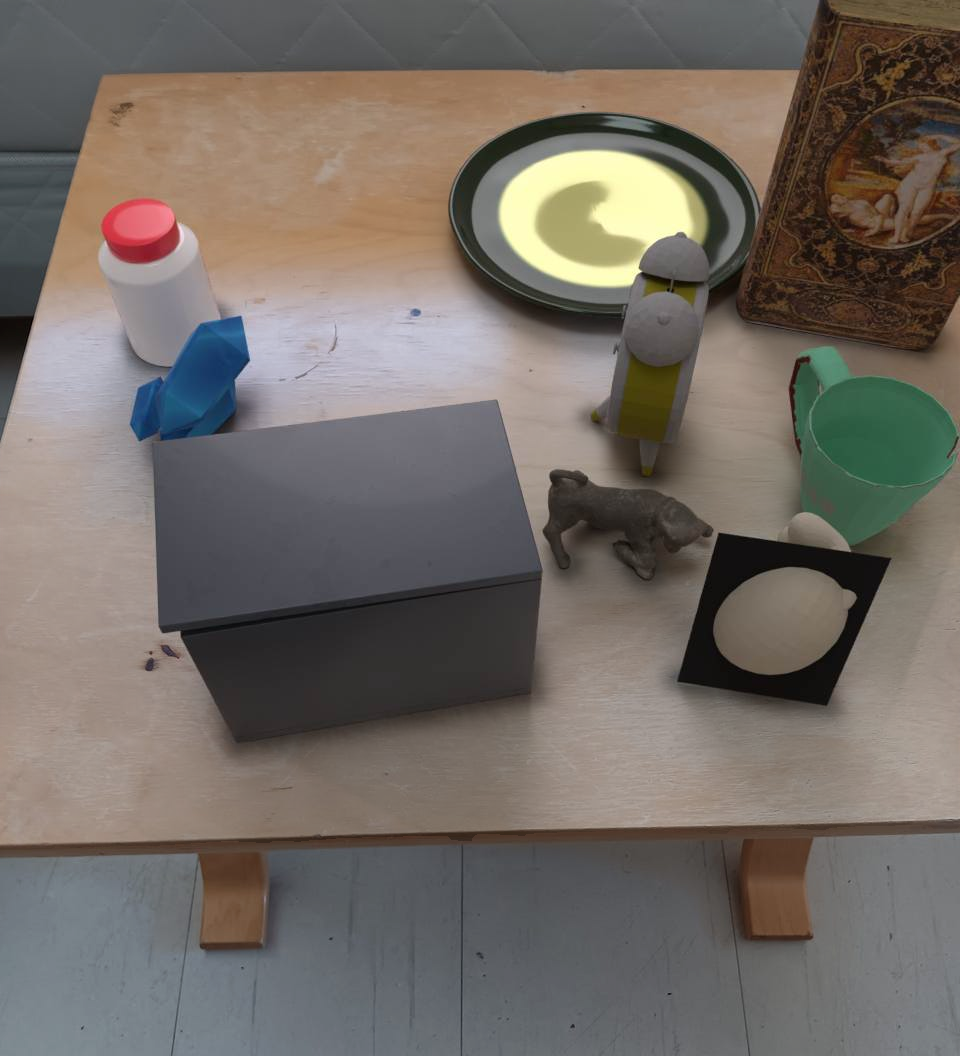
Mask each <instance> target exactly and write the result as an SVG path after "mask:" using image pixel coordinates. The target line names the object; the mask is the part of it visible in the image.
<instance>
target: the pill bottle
mask: <svg viewBox="0 0 960 1056" xmlns="http://www.w3.org/2000/svg"><path fill="white" fill-rule="evenodd" d="M100 226H101V228H100V229H101V232H102V235H103V237H104V239H103V241H102V242H101V244H100V246H99V248H98V252H97V263H98V265H99V268H100V269H99V270H100V271H101V274H102V276H103V279H104V282H105V284H106V286H107V289H108V291H109V294H110V296H111V299H112V301H113V304H114V306H115V308H116V311H117V313H118V316H119V318H120V321H121V324H122V325H123V328H124V331H125V333H126V336H127V338H128V340H129V343H130V345H131V348H132V350H133V351H134V353H135V354H136V355H137V356H138V357H139V359H141V360H143V361H144V362H146V363H148V364H151V365H155V366H158V367H165V368H166V367H169V368H170V367H171V368H172V366H173V365H174V363H175V361H176V359H177V358H178V356H179V354H180V352H181V350H182V349H183V347H184V345H185V343H186V342H187V340H188V338H189V336H190V335H191V333H192V332H193V331H194V330H195V329H196V328H197V327H198V326H199V325H200V324H201V323H204V322H209V321H215V320H220V319H222V318H221V317H222V316H221V314H220V310H219V307H218V304H217V300H216V297H215V293H214V290H213V287H212V283H211V280H210V276H209V272H208V269H207V266H206V263H205V260H204V256H203V253H202V249H201V245H200V243H199V239H198V238H197V236H196V234H195V233H194V232H193V230H192V229H191V228H190V227H188V226H187V225H186V224H184V223H182V222H180V221H177V217H176V214H175V212H174V210H173V209H172V208H171V206H169V205H168V204H167V203H166V202H163V201H161V200H159V199H154V198H134V199H131V200H126V201H124V202H121V203H119V204H117V205H115V206H113V207H112V208H111V209H109V210H108V212H106V214H105V215H104V216H103V218H102V220H101V223H100Z"/></svg>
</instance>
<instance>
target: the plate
mask: <svg viewBox="0 0 960 1056" xmlns="http://www.w3.org/2000/svg"><path fill="white" fill-rule="evenodd" d="M761 207H762V206H761V203H760V200H759V197H758V194H757V192H756V190H755V188H754V186H753V184H752V181H751V180H750V178H749V177H748V175H747V174H746V173H745V171H743V169H742V168H741V167H740V166H739V165H738V164H737V163H736V162H735V160H733V158H731V157H730V156H729V155H728V154H727V153H726V152H724V151H723V150H721V149H720V148H718V147H717V146H716V145H715V144H713V143H711V142H710V141H708V140H707V139H705V138H703V137H701V136H699V135H698V134H696V133H694V132H692V131H690V130H687V129H685V128H683V127H680V126H679V125H675V124H672V123H669V122H665V121H663V120H659V119H655V118H651V117H648V116H647V117H646V116H643V115H636V114H631V113H624V112H614V111H613V112H611V111H581V112H569V113H562V114H557V115H552V116H551V115H550V116H547V117H542V118H538V119H533V120H530V121H527V122H525V123H522V124H519V125H515V126H514V127H512V128H510V129H507V130H506V131H503V132H501V133H499V134H498V135H496V136H494V137H492V138H491V139H489V140H488V141H485V143H483V144H482V145H481V146H480V147H478V148H477V149H476V150H475V151H474V152H473V153H472V154H470V156H469V157H468V158H467V159H466V160H465V162H464V163H463V164H462V166H461V167H460V168H459V170H458V172H457V173H456V176H455V177H454V180H453V182H452V185H451V188H450V191H449V196H448V203H447V212H448V213H447V214H448V220H449V224H450V227H451V230H452V233H453V235H454V238H455V239H456V241H457V243H458V245H459V247H460V249H461V251H462V253H463V254H464V255H465V257H466V258H467V260H468V261H469V262H470V263H471V265H473V267H474V268H476V270H477V271H478V272H480V274H482V275H483V276H484V277H485V278H487V279H488V280H489V281H491V282H493V283H494V284H495V285H496V286H497V287H499V288H501V289H503V290H504V291H506V292H507V293H510V294H512V295H514V296H516V297H518V298H521V299H522V300H525V301H527V302H529V303H532V304H535V305H538V306H540V307H545V308H546V309H550V310H555V311H558V312H563V313H568V314H573V315H578V316H579V315H580V316H588V317H597V318H621V317H622V311H623V307H624V305H625V306H626V309H625V310H627V307H628V302H629V298H630V291H631V286H632V284H633V282H634V279H635V277H636V275H637V274H638V273H640V272H643V271H641V270H640V269H639V264H640V261H641V259H642V257H643V255H644V253H645V252H646V251H647V249H648V248H649V247H650V246H651V245H652V244H654V243H655V242H656V241H657V240H659V239H662V238H664V237H667V236H673V235H676V233H677V232H684V233H685V234H686V236H687V237H688V238H690V239H692V240H694V241H695V242H697V243H698V244H699V245H700V246H701V248H702V249H703V250H704V252H705V254H706V256H707V259H708V263H709V277H708V280H706V281H705V282H706V284H707V285H708V286H709V294H708V296H709V295H711V294H712V293H714V292H715V291H718V290H719V289H720V288H722V287H723V286H725V285H726V284H728V283H729V282H730V281H731V280H733V279H734V278H735V277H736V276H737V275H739V273H740V272H742V271H743V270H744V268H745V265H746V261H747V257H748V254H749V250H750V247H751V243H752V240H753V236H754V232H755V229H756V225H757V222H758V218H759V214H760V211H761ZM625 316H626V315H624V318H625Z"/></svg>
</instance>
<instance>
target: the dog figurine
mask: <svg viewBox="0 0 960 1056" xmlns="http://www.w3.org/2000/svg"><path fill="white" fill-rule="evenodd" d="M548 478H549V481H550V483H551V484H550V487H549V489H548V492H547V507H548V508H547V509H548V521H547V523H546V524H545V525H544V526H543V528H542V534H543V537H544V538H545V539H546V541H547V542H548V544H549V547H550V551H551V552H552V554H553V556H554V557H555V558H556V561H557V564H558V567H560V568H561V569H567V568H568V567H570V565H571V560H572V559H571V557H570V555H569V554H568V552H566V551H565V548H564V547H565V546H564V544H563V541H562V534H563V533H564V532H566V531H568V530H570V529H571V528H573V527H575V526H576V525H577V524H579V522H580V521H582V520H584V521H585V522H587V523H588V524H590V525H592V526H594V527H595V528H598V529H601V530H606V531H614V532H622V533H624V536H625V538H626V540H623V539H618V540H617V541H616V542H612V547H613V549H614V550H615V551H616V553H617V554H618V555H619V557H620V558H622V559H623V560H624V561H625V562H626V563H627V564H629V565H630V566H632V567H633V568H634V569H635V573H636V574H637V575H638V576H640V577H641V578H642V579H647V580H649V579H652V577H653V576H654V575H655V573H654V571H653V569H654V568H655V567H656V565H657V564H658V556H657V554H656V553H655V552H656V551H655V546H654V540H656V539H660V538H663V546H664V549H665V550H666V551H667V552H668V553H670V554H677V553H679V552H680V551H681V549H682V548H685V547H687V546H690V545H692V544H693V543H695V542H696V541H697V540H698V539H699V538H700V537H702V538H704V539H705V538H710V537H712V536H713V534H714V530H715V529H714V528H713V527H712V526H711V525H709V524H708V523H707V522H705V521H704V520H702V519H701V518H699V517H698V516H697V515H696V514H695V512H694V511H692V509H691V508H690V507H688V506H687V505H686V504H684V503H683V502H681V501H678V500H677V499H676V497H673V496H671V495H670V496H668V495H666V494H663V493H662V492H660V491H657V490H656V489H651V488H635V489H634V488H633V489H632V488H631V489H630V488H621V487H615V486H613V487H612V486H600V485H597V484H595V483H594V482H592V481H591V480H590V479H589V477H588V475H586V474H585V473H584V472H582V471H581V470H578V469H575V470H573V471H572V470H567V469H560V468H558V469H557V468H555V469H553V470H552V471H550V472H549V474H548Z"/></svg>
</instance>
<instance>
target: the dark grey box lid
mask: <svg viewBox="0 0 960 1056" xmlns="http://www.w3.org/2000/svg"><path fill="white" fill-rule="evenodd" d="M503 419H504V418H503V415H502V412H501V408H500V405H499V401H498V399H490V400H482V401H481V400H480V401H473V402H464V403H458V404H449V405H448V404H447V405H441V406H433V407H425V408H418V409H408V410H401V411H393V412H386V413H385V412H384V413H376V414H368V415H361V416H353V417H345V418H344V417H343V418H336V419H328V420H320V421H319V420H318V421H313V422H303V423H295V424H288V425H280V426H272V427H271V426H270V427H263V428H256V429H255V428H254V429H248V430H238V431H229V432H223V433H213V434H212V435H206V436H198V437H190V438H182V439H174V440H166V441H161V440H158V441H154V442H153V441H152V466H153V467H152V469H153V470H152V471H153V473H152V474H153V499H154V528H155V529H154V530H155V531H154V532H155V557H156V558H155V561H156V590H157V621H158V622H157V623H158V628H159V630H160V632H161V634H169V633H175V632H180V631H184V630H191V629H197V628H204V627H211V626H218V625H225V624H232V623H239V622H245V621H252V620H259V619H266V618H273V617H280V616H287V615H294V614H300V613H307V612H314V611H321V610H328V609H335V608H342V607H348V606H355V605H362V604H369V603H376V602H383V601H390V600H396V599H403V598H410V597H417V596H424V595H431V594H438V593H445V592H451V591H458V590H465V589H472V588H479V587H486V586H493V585H499V584H506V583H513V582H520V581H527V580H534V579H540V578H543V577H542V576H543V566H542V563H541V558H540V554H539V552H538V551H539V550H538V547H537V544H536V543H537V542H536V540H535V536H534V533H533V529H532V524H531V521H530V516H529V513H528V510H527V506H526V502H525V499H524V494H523V490H522V487H521V484H520V479H519V476H518V472H517V468H516V464H515V460H514V457H513V453H512V449H511V445H510V442H509V439H508V434H507V431H506V427H505V422H504V420H503Z"/></svg>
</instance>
